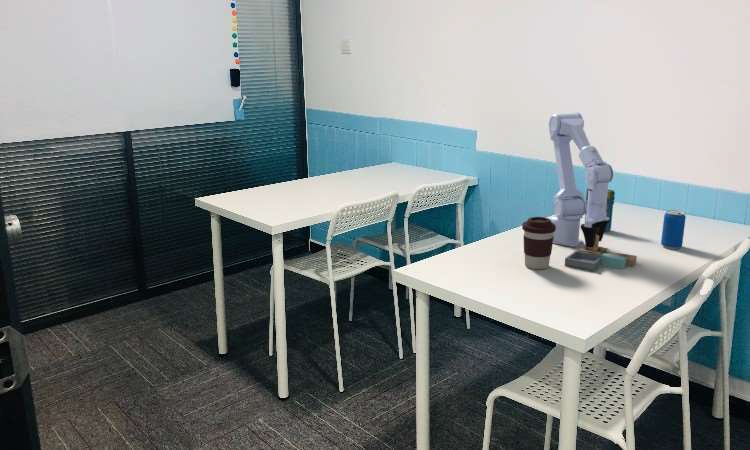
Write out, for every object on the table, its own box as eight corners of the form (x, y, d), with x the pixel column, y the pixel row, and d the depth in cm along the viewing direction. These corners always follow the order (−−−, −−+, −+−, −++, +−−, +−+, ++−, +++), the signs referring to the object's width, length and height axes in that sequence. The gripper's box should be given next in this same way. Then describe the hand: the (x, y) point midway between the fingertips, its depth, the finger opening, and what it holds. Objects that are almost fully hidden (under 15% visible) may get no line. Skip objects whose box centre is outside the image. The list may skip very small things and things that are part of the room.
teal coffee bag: (612, 230, 238) (615, 190, 234) (609, 233, 234) (613, 192, 230) (585, 226, 243) (588, 187, 239) (582, 229, 239) (585, 189, 235)
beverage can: (683, 250, 215) (688, 215, 211) (663, 249, 216) (667, 214, 213) (679, 244, 221) (683, 210, 217) (658, 243, 222) (662, 209, 219)
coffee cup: (554, 262, 205) (557, 216, 201) (551, 273, 196) (555, 225, 192) (522, 259, 208) (524, 214, 204) (518, 269, 199) (520, 222, 195)
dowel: (586, 256, 210) (587, 236, 208) (589, 254, 212) (591, 233, 210) (595, 258, 208) (597, 237, 206) (598, 256, 210) (600, 235, 208)
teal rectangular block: (599, 264, 202) (600, 255, 202) (602, 262, 205) (603, 253, 204) (622, 269, 198) (623, 259, 198) (625, 266, 201) (626, 257, 200)
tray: (564, 265, 202) (565, 258, 201) (575, 257, 209) (575, 250, 208) (593, 271, 197) (594, 263, 196) (603, 263, 204) (604, 255, 203)
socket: (577, 257, 209) (578, 250, 209) (585, 251, 215) (586, 244, 214) (599, 261, 205) (600, 254, 205) (607, 255, 211) (607, 248, 210)
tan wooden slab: (605, 263, 204) (606, 256, 204) (609, 259, 208) (610, 251, 208) (632, 268, 200) (633, 260, 200) (636, 263, 204) (636, 255, 204)
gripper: (602, 209, 197) (598, 251, 201) (617, 199, 208) (613, 240, 212) (579, 206, 201) (576, 247, 205) (595, 196, 212) (592, 236, 216)
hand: (593, 243), depth 209 cm, fingers open, 7 cm apart
